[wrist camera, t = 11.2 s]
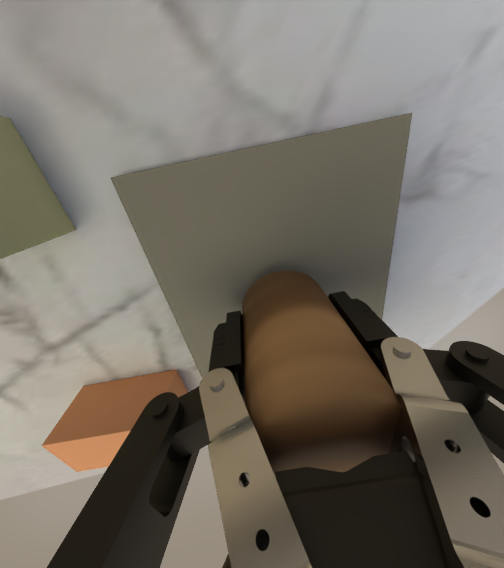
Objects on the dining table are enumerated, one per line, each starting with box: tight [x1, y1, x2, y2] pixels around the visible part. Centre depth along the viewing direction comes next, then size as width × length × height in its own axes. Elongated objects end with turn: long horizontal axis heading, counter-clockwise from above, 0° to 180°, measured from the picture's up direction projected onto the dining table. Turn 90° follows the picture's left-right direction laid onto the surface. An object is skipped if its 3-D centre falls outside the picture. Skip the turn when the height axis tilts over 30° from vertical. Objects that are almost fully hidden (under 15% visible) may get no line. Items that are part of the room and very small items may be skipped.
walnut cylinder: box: [242, 270, 402, 478], centre depth 9 cm, size 5×5×7 cm
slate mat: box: [111, 113, 412, 378], centre depth 14 cm, size 16×14×1 cm
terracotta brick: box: [42, 369, 188, 472], centre depth 17 cm, size 8×4×4 cm, turn 100°
